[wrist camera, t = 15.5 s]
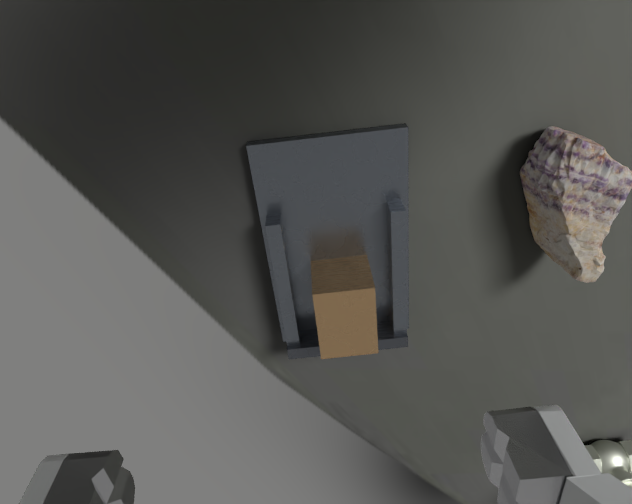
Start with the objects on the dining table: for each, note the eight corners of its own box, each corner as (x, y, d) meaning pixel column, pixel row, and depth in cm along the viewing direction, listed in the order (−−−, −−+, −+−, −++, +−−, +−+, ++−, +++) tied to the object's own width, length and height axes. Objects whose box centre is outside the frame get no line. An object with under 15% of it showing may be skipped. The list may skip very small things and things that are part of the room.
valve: (575, 429, 56) (637, 531, 46) (630, 422, 56) (705, 524, 46) (567, 462, 60) (623, 564, 50) (619, 456, 60) (687, 557, 49)
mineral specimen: (613, 227, 42) (659, 264, 37) (534, 254, 43) (567, 294, 38) (601, 94, 36) (655, 116, 30) (509, 130, 37) (545, 158, 32)
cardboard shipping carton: (366, 254, 41) (375, 287, 37) (370, 316, 45) (378, 353, 40) (310, 261, 41) (312, 294, 37) (318, 322, 45) (321, 359, 41)
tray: (405, 123, 36) (415, 137, 33) (406, 321, 46) (414, 346, 44) (247, 141, 36) (242, 157, 33) (283, 335, 47) (282, 359, 44)
